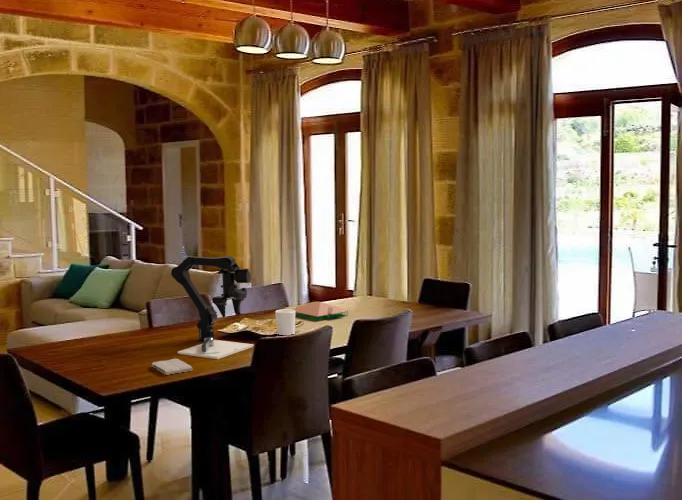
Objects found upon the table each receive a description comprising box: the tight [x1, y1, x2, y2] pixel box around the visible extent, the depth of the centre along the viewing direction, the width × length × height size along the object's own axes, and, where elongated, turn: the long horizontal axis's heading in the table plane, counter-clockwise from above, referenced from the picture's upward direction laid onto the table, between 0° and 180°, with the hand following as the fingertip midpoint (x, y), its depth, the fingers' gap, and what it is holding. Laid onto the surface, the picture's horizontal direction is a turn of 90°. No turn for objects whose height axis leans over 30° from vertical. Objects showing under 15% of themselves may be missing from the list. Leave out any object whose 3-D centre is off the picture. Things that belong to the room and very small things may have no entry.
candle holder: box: [275, 308, 296, 335], centre depth 354 cm, size 10×10×12 cm
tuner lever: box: [201, 337, 214, 352], centre depth 325 cm, size 16×4×4 cm, turn 2°
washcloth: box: [151, 358, 194, 376], centre depth 297 cm, size 12×18×3 cm, turn 35°
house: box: [292, 301, 351, 322], centre depth 402 cm, size 23×33×8 cm
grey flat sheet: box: [177, 339, 255, 360], centre depth 327 cm, size 23×25×1 cm
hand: (230, 315), depth 345 cm, fingers open, 9 cm apart
